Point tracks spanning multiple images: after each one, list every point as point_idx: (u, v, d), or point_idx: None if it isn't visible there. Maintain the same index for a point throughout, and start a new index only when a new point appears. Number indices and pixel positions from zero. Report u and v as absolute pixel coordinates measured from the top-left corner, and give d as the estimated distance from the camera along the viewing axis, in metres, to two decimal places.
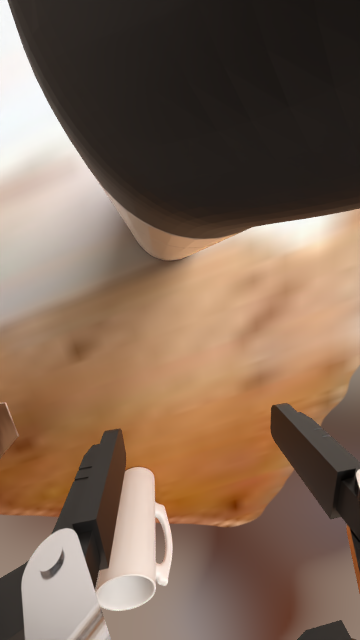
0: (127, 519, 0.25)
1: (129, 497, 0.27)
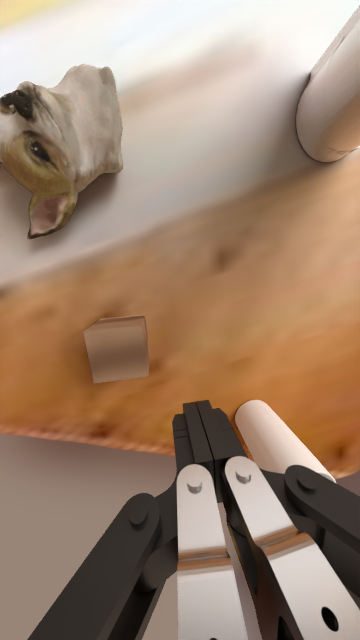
0: (279, 434, 0.24)
1: (267, 419, 0.26)
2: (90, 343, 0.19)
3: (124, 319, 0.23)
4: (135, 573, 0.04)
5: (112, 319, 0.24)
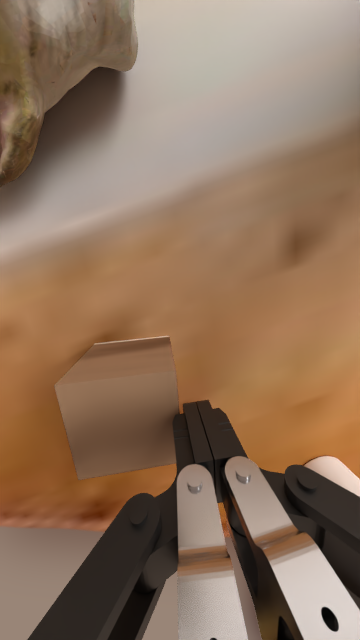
0: None
1: None
2: (70, 407, 0.09)
3: (136, 346, 0.13)
4: (135, 573, 0.04)
5: (115, 345, 0.14)
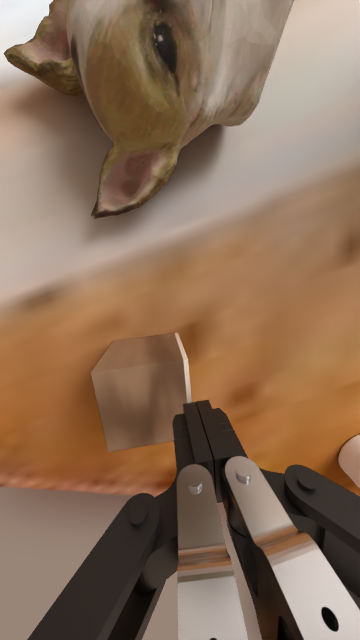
0: None
1: None
2: None
3: (158, 348, 0.14)
4: (135, 573, 0.04)
5: (166, 340, 0.16)
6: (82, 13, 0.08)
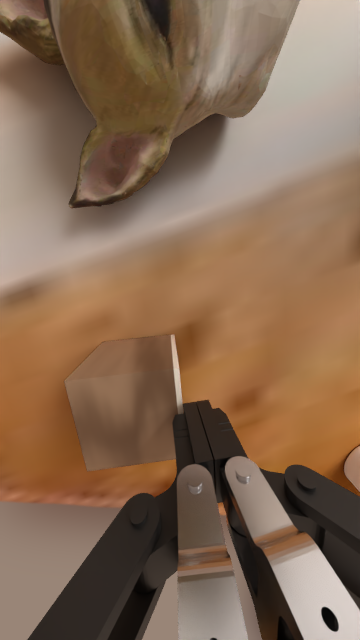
0: None
1: None
2: None
3: (148, 353, 0.12)
4: (135, 573, 0.04)
5: (159, 343, 0.14)
6: None
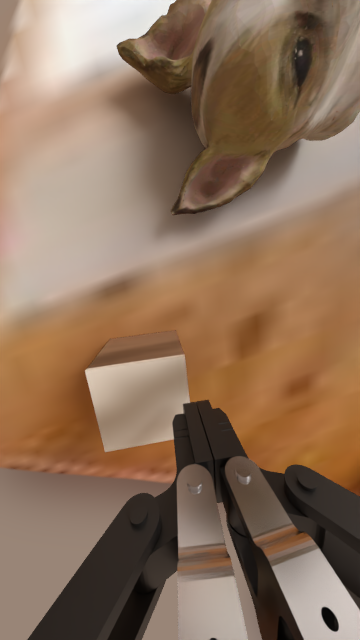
0: None
1: None
2: None
3: (132, 352, 0.13)
4: (135, 573, 0.04)
5: (155, 353, 0.12)
6: (230, 20, 0.08)
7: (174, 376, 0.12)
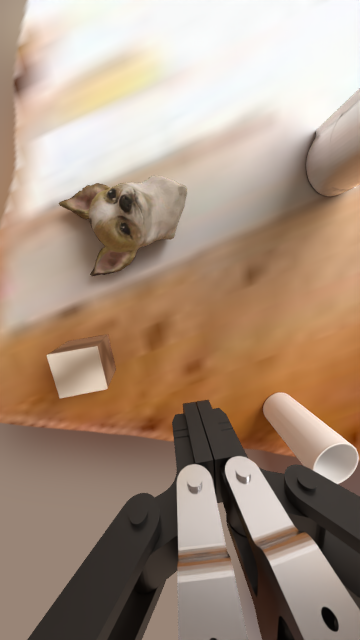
0: (306, 417, 0.28)
1: (293, 407, 0.31)
2: None
3: (74, 346, 0.25)
4: (135, 573, 0.04)
5: (84, 346, 0.24)
6: (95, 215, 0.20)
7: (92, 357, 0.24)
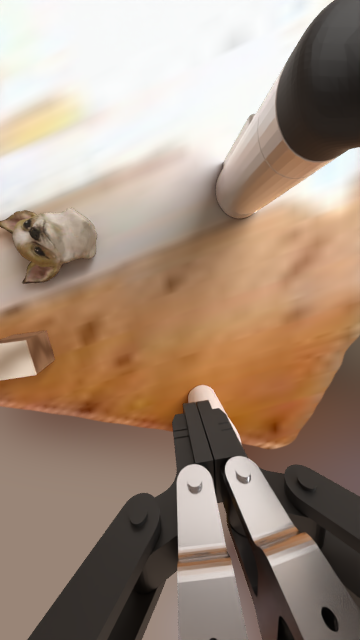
0: None
1: (204, 397, 0.37)
2: None
3: (10, 340, 0.30)
4: (135, 573, 0.04)
5: (17, 340, 0.30)
6: (14, 239, 0.25)
7: (21, 349, 0.29)
